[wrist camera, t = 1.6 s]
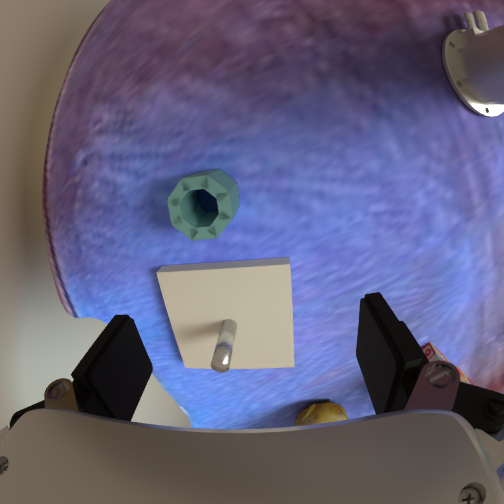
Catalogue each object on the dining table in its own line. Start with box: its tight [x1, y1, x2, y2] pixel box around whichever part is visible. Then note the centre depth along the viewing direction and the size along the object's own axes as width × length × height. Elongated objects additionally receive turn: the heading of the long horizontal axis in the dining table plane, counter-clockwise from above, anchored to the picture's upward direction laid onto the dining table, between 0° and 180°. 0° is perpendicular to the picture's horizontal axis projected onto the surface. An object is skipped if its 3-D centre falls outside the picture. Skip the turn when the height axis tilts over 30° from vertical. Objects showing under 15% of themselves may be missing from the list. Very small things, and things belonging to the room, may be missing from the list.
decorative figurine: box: [295, 399, 348, 426], centre depth 37 cm, size 10×8×15 cm
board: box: [156, 257, 294, 373], centre depth 33 cm, size 16×16×10 cm
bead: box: [167, 169, 240, 240], centre depth 28 cm, size 6×6×6 cm
